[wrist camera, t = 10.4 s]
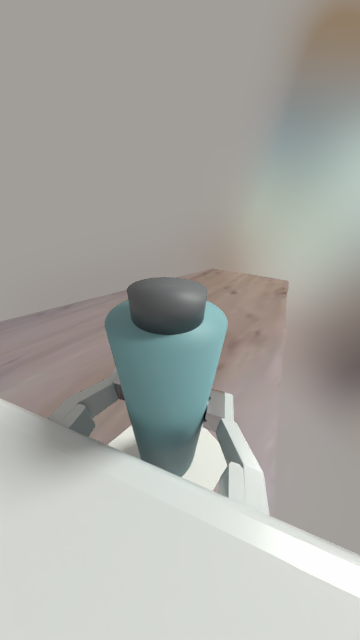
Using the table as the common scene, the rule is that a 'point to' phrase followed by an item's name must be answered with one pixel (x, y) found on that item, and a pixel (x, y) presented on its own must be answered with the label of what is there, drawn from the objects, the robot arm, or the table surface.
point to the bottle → (166, 365)
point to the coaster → (204, 463)
